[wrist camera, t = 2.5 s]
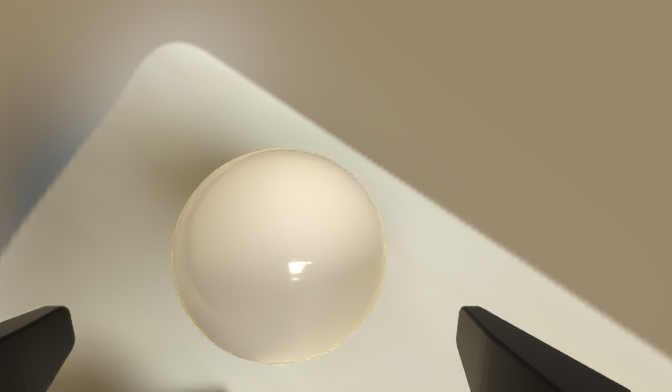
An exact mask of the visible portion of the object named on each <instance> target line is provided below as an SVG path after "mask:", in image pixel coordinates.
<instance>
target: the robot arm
mask: <svg viewBox="0 0 672 392" xmlns="http://www.w3.org/2000/svg"><path fill="white" fill-rule="evenodd" d="M74 342H75V335H74V330H73V325H72V320H71V315H70V311H69V309H68V308H67V307H65V306H45V307H42V308H39V309H36V310H34V311H31V312H28V313H25V314H23V315H20V316H17V317H15V318H12V319H9V320H6V321H4V322H1V323H0V392H46V391H47V390H48V388H49V386H50V385H51V383H52V381H53V380H54V378H55V377H56V375H57V373H58V372H59V370H60V368H61V367H62V365H63V363H64V362H65V360H66V359H67V357H68V355H69V354H70V352H71V350H72V348H73V346H74ZM456 342H457V348H458V351H459V355H460V358H461V361H462V364H463V368H464V371H465V374H466V378H467V381H468V384H469V387H470V391H471V392H631V391H630V390H629V389H627V388H626V387H624V386H622V385H620V384H618V383H617V382H615V381H613V380H611V379H609V378H607V377H606V376H604V375H602V374H600V373H598V372H597V371H595V370H593V369H591V368H589V367H588V366H586V365H584V364H582V363H580V362H579V361H577V360H575V359H573V358H571V357H570V356H568V355H566V354H564V353H562V352H561V351H559V350H557V349H555V348H553V347H552V346H550V345H548V344H546V343H544V342H543V341H541V340H539V339H537V338H535V337H534V336H532V335H530V334H528V333H526V332H525V331H523V330H521V329H519V328H517V327H516V326H514V325H512V324H510V323H508V322H507V321H505V320H503V319H501V318H499V317H498V316H496V315H494V314H492V313H490V312H489V311H487V310H485V309H483V308H481V307H479V306H463V307H461V309H460V311H459V318H458V327H457V335H456Z"/></svg>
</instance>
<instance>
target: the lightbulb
mask: <svg viewBox="0 0 672 392" xmlns="http://www.w3.org/2000/svg"><path fill="white" fill-rule="evenodd" d="M386 265H387V243H386V236H385V231H384V226H383V223H382V220H381V217H380V214H379V212H378V210H377V208H376V205H375V204H374V202H373V200H372V198H371V197H370V195H369V194H368V192H367V191H366V189H365V188H364V187H363V186H362V184H361V183H360V182H359V181H358V180H357V179H356V178H355V177H354V176H353V175H352V174H351V173H349V172H348V171H347V170H346V169H344V168H343V167H341V166H340V165H338V164H337V163H335V162H333V161H332V160H330V159H328V158H326V157H323V156H321V155H318V154H315V153H312V152H309V151H305V150H300V149H292V148H271V149H263V150H258V151H254V152H250V153H247V154H244V155H242V156H239V157H237V158H235V159H233V160H231V161H229V162H227V163H225V164H224V165H222V166H221V167H219V168H218V169H216V170H215V171H214V172H212V173H211V174H210V175H209V176H208V177H207V178H205V179H204V180H203V181H202V182H201V184H200V185H199V186H198V187H197V188H196V189H195V191H194V192H193V193H192V195H191V196H190V197H189V199H188V200H187V202H186V204H185V206H184V208H183V209H182V212H181V214H180V216H179V219H178V221H177V224H176V227H175V231H174V235H173V240H172V247H171V269H172V277H173V282H174V286H175V290H176V293H177V296H178V298H179V301H180V303H181V305H182V307H183V309H184V311H185V313H186V315H187V316H188V318H189V319H190V321H191V322H192V323H193V325H194V326H195V327H196V328H197V329H198V331H199V332H200V333H201V334H202V335H203V336H204V337H206V338H207V339H208V340H209V341H210V342H211V343H213V344H214V345H216V346H217V347H219V348H220V349H222V350H223V351H225V352H227V353H229V354H231V355H233V356H236V357H238V358H241V359H244V360H247V361H251V362H256V363H261V364H272V365H282V364H292V363H298V362H302V361H306V360H310V359H313V358H315V357H318V356H320V355H322V354H325V353H327V352H329V351H330V350H332V349H334V348H335V347H337V346H338V345H340V344H341V343H343V342H344V341H345V340H346V339H348V338H349V337H350V336H351V335H352V334H353V333H354V332H355V331H356V330H357V329H358V328H359V327H360V326H361V325H362V323H363V322H364V321H365V319H366V318H367V317H368V315H369V314H370V312H371V310H372V309H373V307H374V305H375V303H376V301H377V299H378V297H379V294H380V292H381V289H382V285H383V282H384V278H385V272H386Z"/></svg>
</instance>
